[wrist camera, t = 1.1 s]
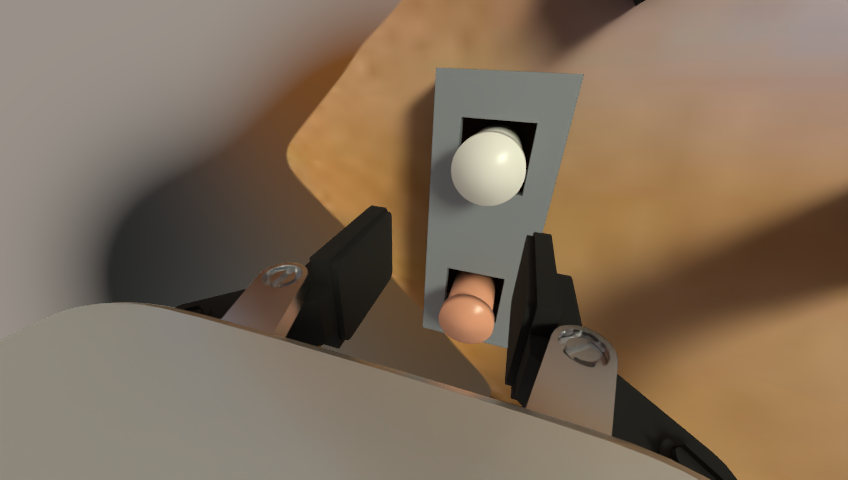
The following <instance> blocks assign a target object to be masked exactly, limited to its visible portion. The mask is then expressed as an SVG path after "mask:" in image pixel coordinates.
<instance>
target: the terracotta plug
mask: <svg viewBox="0 0 848 480" xmlns="http://www.w3.org/2000/svg"><path fill="white" fill-rule="evenodd" d="M495 291H496V282H495V280H494V278H493V277H491V276H486V275H481V274H476V273H471V272H466V271H460V272H458V274H457V275H456V277H455V280H454V283H453V286H452V289H451V291H450V294H449V297H448V299H446V300H445V302H444V303H443V305H442V307H441V310H440V313H439V324H440V326H441V328H442V330H443V331H444V332H445V333H446V334H447V335H448V336H449V337H451V338H453V339H454V340H457V341H459V342H462V343H468V344H475V343H480V342H483V341H485V340H486V339H488V338H489V337H490V336H491V334H492V332H493V327H494V313H493V304H494V297H495Z"/></svg>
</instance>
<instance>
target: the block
mask: <svg viewBox="0 0 848 480" xmlns="http://www.w3.org/2000/svg"><path fill="white" fill-rule="evenodd" d="M583 76H584V74H566V73H544V72H522V71H500V70H477V69H455V68H436V80H435V99H434V119H433V138H432V158H431V177H430V197H429V216H428V236H427V255H426V275H425V294H424V314H423V327H425V328H428V329H432V330H437V331H440V332H444V331H443V330H442V328H441V326H440V324H439V313H440V310H441V307H442V305H443V303H444V302H445V300H446V299H448V297H449V294H450V293H447V283H448V273H449V268H451V269H456V270H461V271H466V272H471V273H476V274H481V275H486V276H491V277H496V278H501V279H504V283H503V288H502V293H501V297H500V302H499V304H497V303H494V304H493V313H494V327H493V332H492V334H491V336H490V337H489V338H488V339H486V340H485V341H483V342H484V343H488V344H492V345H496V346H500V347H504V348H508V335H509V322H510V309H511V300H512V295H513V291H514V287H515V282H516V278H517V274H518V270H519V265H520V261H521V257H522V253H523V248H524V244H525V240H526V236H527V235H531V236H533V233H534V232H538V233H542V232H543V229H544V225H545V221H546V217H547V213H548V209H549V206H550V202H551V198H552V194H553V190H554V187H555V183H556V179H557V175H558V171H559V167H560V164H561V160H562V156H563V152H564V148H565V145H566V141H567V137H568V133H569V129H570V126H571V122H572V118H573V114H574V110H575V106H576V103H577V99H578V95H579V91H580V87H581V84H582V80H583ZM464 117H468V118H481V119H493V120H505V121H517V122H529V123H537V126H536V131H535V136H534V140H533V145H532V150H531V155H530V159H529V164H528V169H527V174H526V178H525V183H524V188H523V192H519V191H518V192H517V193H516V194H515V195H514V196H513V197H512V198H511V199H509V200H508V201H506V202H504V203H502V204H499V205H494V206H481V205H477V204H474V203H472V202H470V201H468V200H467V199H465V198H464V197H463V196H462V195H461V194H460V193H459V192H458V191H457V189H456V187H455V186H454V183H453V180H452V176H451V165H452V160H453V157H454V155H455V153H456V151H457V150H458V148H459V147H460V146H461V139H462V129H463V118H464ZM444 333H445V332H444Z"/></svg>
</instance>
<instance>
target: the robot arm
mask: <svg viewBox="0 0 848 480" xmlns="http://www.w3.org/2000/svg"><path fill="white" fill-rule="evenodd" d="M391 275H392V216H391V213H390V212H388V211H387V209H386V208H384V207H378V206H370V207H369V208H368V209H366V210H365V211H364V212H363V213H362V214H361V215H359V216H358V217H357V218H356V219H355V220H354V221H352V222H351V223H350V224H349V225H348V226H346V227H345V228H344V229H343V230H342V231H341V232H340V233H338V234H337V235H336V236H335V237H333V238H332V239H331V240H330V241H329V242H328V243H326V245H324V246H323V247H322V248H321V249H320V250H318V251H317V252H316V253H315V254H314V255H312V256H311V257H310V262H309V263H308V264H307V265H306V266H304V265H302V264H299V263H294V262H286V263H285V262H284V263H279V264H276V265H273V266H270V267H268V268H266V269H265V270H263V271H262V272H261V273H260V274H258V276H257V277H256V278H255V279H254V281H253V282H252V283H251V284H250V285H249V287H248V288H247V289H245V290H240V291H236V292H232V293H228V294H224V295H220V296H215V297H211V298H208V299H203V300H199V301H195V302H191V303H186V304H182V305H180V306H177V307H175V308H173V307H168V306H161V305H154V304H147V303H126V302H121V303H103V304H94V305H87V306H82V307H76V308H72V309H68V310H65V311H62V312H59V313H57V314H55V315H52V316H50V317H48V318H45V319H43V320H41V321H39V322H37V323H35V324H32V325H30V326H28V327H26V328H24V329H22V330H20V331H18V332H16V333H13V334H11V335H9V336H7V337H5V338H3V339H1V340H0V480H737V479H736V477H735V476H734V475H733V474H732V472H731V471H730V470H729V468H728V467H727V466H726V465H725V464H724V463H723V462H722V461H721V460H720V459H719V458H718V457H717V456H716V455H715V454H714V453H713V452H712V451H710V450H709V449H708V448H707V447H705V446H704V445H703V444H702V443H701V442H699V441H698V440H697V439H696V438H695V437H693V436H692V435H691V434H690V433H688V432H687V431H686V430H685V429H684V428H682V427H681V426H680V425H679V424H677V423H676V422H675V421H674V420H673V419H671V418H670V417H669V416H668V415H667V414H665V413H664V412H663V411H662V410H660V409H659V408H658V407H657V406H656V405H654V404H653V403H652V402H651V401H650V400H648V399H647V398H646V397H645V396H643V395H642V394H641V393H640V392H639V391H637V390H636V389H635V388H634V387H632V386H631V385H630V384H629V383H628V382H626V381H625V380H624V379H623V378H622V377H620V376H619V375H618V374H617V368H618V358H617V353H616V352H615V350H614V348H613V346H612V345H611V344H610V343H609V342H608V341H607V340H606V339H605V338H603V337H602V336H601V335H599V334H598V333H596V332H594V331H592V330H590V329H588V328H585V327H582V323H581V318H580V314H579V309H578V304H577V299H576V295H575V290H574V285H573V280H572V277H571V276H568V275H562V274H557V271H556V264H555V257H554V250H553V243H552V236H551V234H545V233H538V232H534V233H533V236H531V235H527V236H526V240H525V244H524V248H523V253H522V257H521V261H520V265H519V270H518V274H517V278H516V282H515V287H514V291H513V295H512V300H511V309H510V322H509V335H508V348H507V362H506V375H505V384H506V385H510V386H512V388H511V398H512V399H515V400H518V402H519V403H520V404H521V405H522V406H523V407H520V406H517V405H513V404H510V403H507V402H503V401H500V400H497V399H493V398H490V397H487V396H483V395H480V394H476V393H473V392H470V391H466V390H463V389H460V388H456V387H453V386H450V385H446V384H443V383H440V382H436V381H433V380H430V379H426V378H422V377H420V376H416V375H413V374H409V373H406V372H403V371H399V370H396V369H392V368H389V367H385V366H382V365H378V364H375V363H371V362H368V361H365V360H361V359H358V358H355V357H351V356H348V355H344V354H341V353H338V352H334V351H331V350H327V349H324V348H321V345H323V344H325V345H329V346H332V347H335V348H340V346H341V345H342V343H343V342H344V340H349V339H350V338H351V337H352V335H353V334H354V332H355V331H356V329H357V328H358V326H359V325H360V323H361V322H362V320H363V319H364V317H365V316H366V314H367V313H368V311H369V310H370V308H371V307H372V305H373V304H374V302H375V301H376V299H377V298H378V297H379V295H380V294H381V292H382V291H383V289H384V288H385V286H386V285H387V283H388V282H389V280H390V278H391Z"/></svg>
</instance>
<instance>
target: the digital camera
mask: <svg viewBox="0 0 848 480" xmlns="http://www.w3.org/2000/svg"><path fill="white" fill-rule="evenodd" d="M633 1H634V3H635V5H636V6H637V5H638V4H640V3H641V2H643V1H645V0H633Z"/></svg>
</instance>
